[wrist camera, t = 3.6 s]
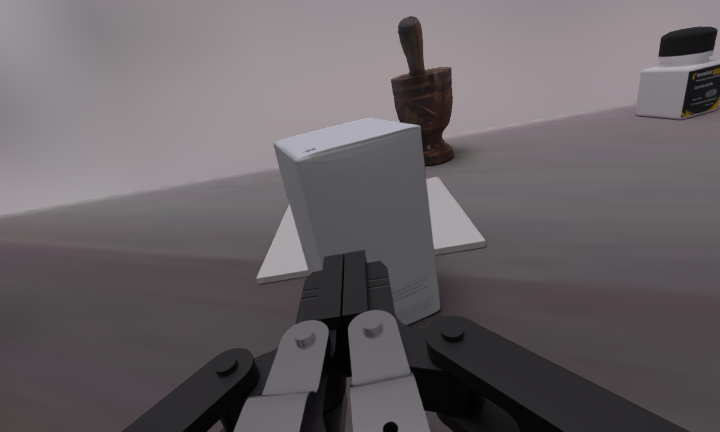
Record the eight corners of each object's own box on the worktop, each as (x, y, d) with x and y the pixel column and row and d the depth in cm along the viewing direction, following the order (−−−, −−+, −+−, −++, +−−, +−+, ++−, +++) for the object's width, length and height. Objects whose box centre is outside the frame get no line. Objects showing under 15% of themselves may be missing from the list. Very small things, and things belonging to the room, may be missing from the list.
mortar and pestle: (472, 166, 49) (464, 4, 41) (412, 178, 49) (392, 18, 41) (447, 148, 60) (437, 16, 52) (397, 158, 60) (380, 28, 52)
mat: (258, 284, 31) (256, 278, 31) (290, 206, 47) (289, 202, 47) (485, 246, 30) (485, 240, 30) (438, 181, 46) (437, 176, 46)
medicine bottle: (681, 120, 51) (698, 29, 47) (633, 116, 58) (644, 35, 53) (718, 110, 53) (738, 20, 48) (668, 107, 59) (681, 27, 54)
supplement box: (444, 311, 24) (425, 123, 19) (342, 356, 22) (290, 158, 17) (395, 263, 30) (371, 114, 25) (313, 294, 28) (269, 139, 23)
